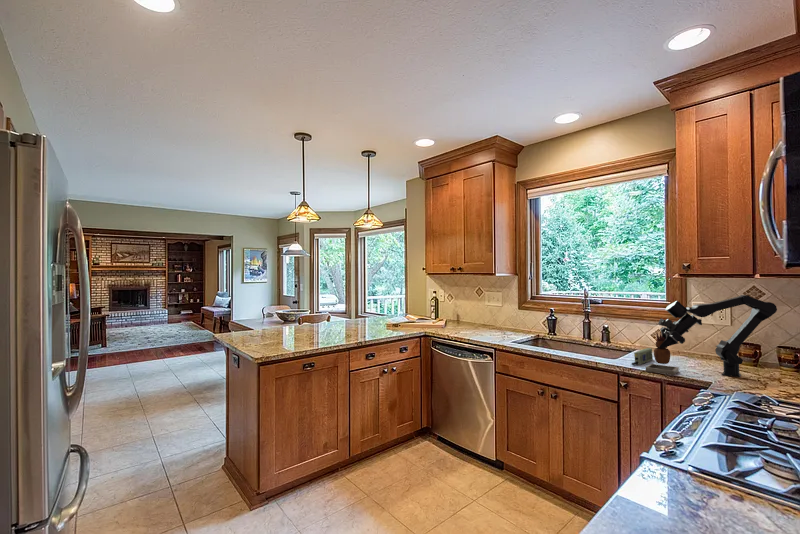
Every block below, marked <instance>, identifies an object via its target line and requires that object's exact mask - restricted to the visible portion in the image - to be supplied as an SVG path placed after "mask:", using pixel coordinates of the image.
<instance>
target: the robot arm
mask: <svg viewBox="0 0 800 534" xmlns="http://www.w3.org/2000/svg"><path fill="white" fill-rule="evenodd" d="M742 305H743V306H744V305H745V306H747V307H749V308H751V310H750V315H749V316H748V318H747V319H745V321H744V322H743V323H742V324H741V325H740V326H739V328H738V329H737V330H736V331H735V332H734V333H733V334H732V336H731V337H730V338H728V339H727V340H723V339H721V340H720V342H719V343H718V344H717V345H715V354H716V355H717V356H718V357H719V358H720V360H721V361H722V363H723V364H722V365H723V368H722V369H723V372H722V373H721V375H722V376H724V377H725V376H727V377H734V378H741V377H742V374H741V372H740V365H742V364H743V362H744V360H743V359H742V358H741V357H740V356H739V355H738V353H739V352H740V347H741V346H742V345H743V343H744V342H745V341H746V340H747V338H749V337H750V335H751V334H752V333H753V332H754V330H755V329H756V328H757V327H759V325H760V324H762V322H763V321H765V320H767V319H769V318H771V317H772V316H773V315H774V314H776V313H777V311H778V308H777V305H776V304H775V303H773V302H770V301H769V302H768V301H763V300H761V299H757V298H754V297H752V296H750V295H747V294H740V295H739V296H735V297H730V298H727V299H723V300H720V301H715V302H709V303H697V304H693V305H692V306H690V307H689V306H688V307H686V306H685V305H683V304H682V303H681V302H680V301H679V300H675V301H673V302H672V303H671V304H668V305H667V306H666V308H665V310H664V311H666V312H668V313H669V314H670V315H671V316H672V317H673V318H674V319H677V318H678V320H677V321H673V320H672V319H669V318H667V319H663V318H660V319H659V321H658V322H657V325H660V326H662V327H660V328H659V331H660V334H661V337H662V336H663V338H665V340H664V341H663V342H662V344H661V345H660V346H659V347H660V348H664V347H667V346H668V347H671V346H673V345H679V344H684V343H685V342H686V338H685V337H684V334H686V333H689V332H690V329H691V328H693V326H695V325H696V324H697V325H699V326H702V325H703V322H702V319H701V318H706V317H708V316H711V315H713V314H714V313H717V312H718V311H723V310H728V309H731V308H734V307H739V306H742ZM690 314H691V315H690ZM697 317H699V318H697ZM668 347H667V348H668Z"/></svg>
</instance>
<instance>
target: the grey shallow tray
mask: <svg viewBox="0 0 800 534" xmlns="http://www.w3.org/2000/svg"><path fill="white" fill-rule="evenodd" d="M679 369H680V368H679V367H678V366H672V365H666V364H658V363H655V364H654V363H651V364H649V365H647V366H645V372H648V373H655V374H656V373H657V374H661V375H662V374H663V375H669V376H675V375H676V374H677V373H679Z"/></svg>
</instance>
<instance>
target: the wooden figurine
mask: <svg viewBox="0 0 800 534" xmlns="http://www.w3.org/2000/svg"><path fill="white" fill-rule="evenodd" d="M661 336H662V335H661V333H660V334H659V333H658V332H657V333H656V341H655V347H656V348H655V347H654V349H653V357H654V360H655V362H656V364H658V365H667V364H669V363H670V362H671V351H670V349H669V348H668V347H669V346H667V347H664V348H660V347H659V346H660V345H661V344H662V342H663V341H664V340H665V338H663V336H662V337H661Z"/></svg>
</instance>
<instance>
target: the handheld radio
mask: <svg viewBox="0 0 800 534" xmlns="http://www.w3.org/2000/svg"><path fill="white" fill-rule="evenodd" d="M633 353H634V354H633V355H634V362H632V363H631V365H632V366H636V365H638V366H639V365H640V366H641V365H642V364H646V363H648V362H651V361H653V357H654V355H653V348H651V347H647V348H644V349H641V350H638V351H635V352H633ZM650 360H651V361H650ZM645 362H646V363H645Z"/></svg>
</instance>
